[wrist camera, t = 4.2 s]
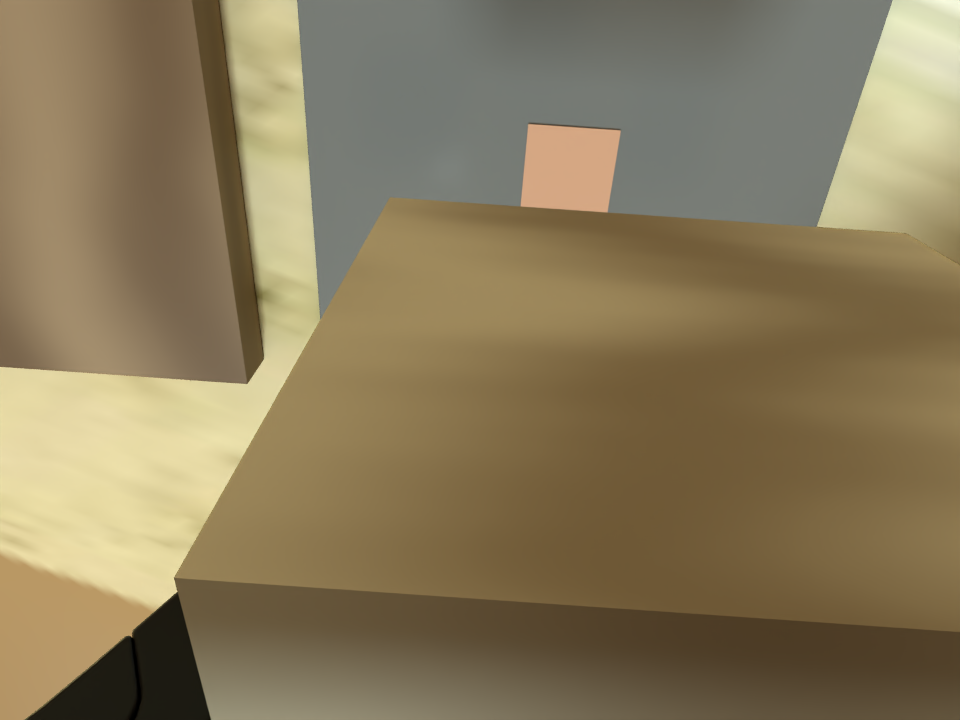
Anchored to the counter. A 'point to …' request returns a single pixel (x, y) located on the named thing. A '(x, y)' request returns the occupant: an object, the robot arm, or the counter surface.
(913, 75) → the counter surface
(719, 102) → the tile
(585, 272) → the oak block
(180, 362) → the walnut pad
